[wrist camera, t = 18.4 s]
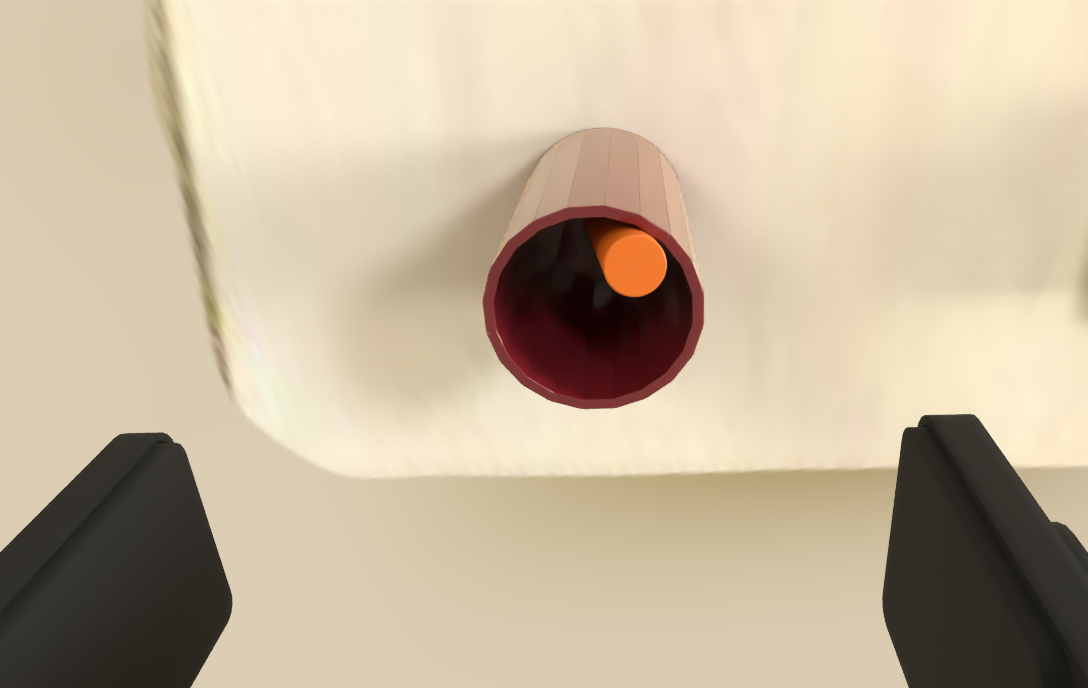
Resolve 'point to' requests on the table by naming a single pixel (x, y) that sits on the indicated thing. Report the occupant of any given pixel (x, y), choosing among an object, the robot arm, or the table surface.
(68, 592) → the robot arm
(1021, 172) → the table surface
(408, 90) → the table surface
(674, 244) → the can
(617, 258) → the solid orange cylinder
